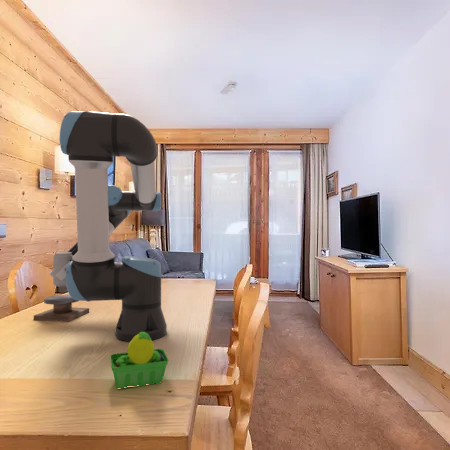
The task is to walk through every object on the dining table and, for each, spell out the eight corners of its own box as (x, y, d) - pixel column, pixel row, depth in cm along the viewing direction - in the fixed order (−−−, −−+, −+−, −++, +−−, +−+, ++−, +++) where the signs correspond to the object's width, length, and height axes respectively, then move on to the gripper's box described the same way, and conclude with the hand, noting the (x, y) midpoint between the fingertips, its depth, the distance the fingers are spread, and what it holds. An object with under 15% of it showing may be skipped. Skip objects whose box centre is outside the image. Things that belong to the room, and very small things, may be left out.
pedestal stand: (67, 321, 112) (68, 302, 112) (33, 319, 114) (33, 301, 114) (89, 312, 125) (89, 295, 125) (57, 310, 127) (58, 293, 127)
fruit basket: (162, 370, 75) (162, 320, 75) (170, 387, 67) (170, 332, 67) (109, 377, 71) (110, 325, 71) (111, 397, 63) (111, 338, 63)
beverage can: (76, 284, 123) (76, 251, 123) (66, 287, 117) (66, 253, 117) (60, 283, 124) (60, 251, 124) (49, 286, 117) (49, 253, 117)
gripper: (117, 238, 125) (73, 287, 113) (95, 237, 138) (53, 280, 126) (104, 224, 122) (57, 273, 110) (82, 224, 134) (38, 268, 123)
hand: (55, 277), depth 118 cm, fingers closed on beverage can, 6 cm apart
